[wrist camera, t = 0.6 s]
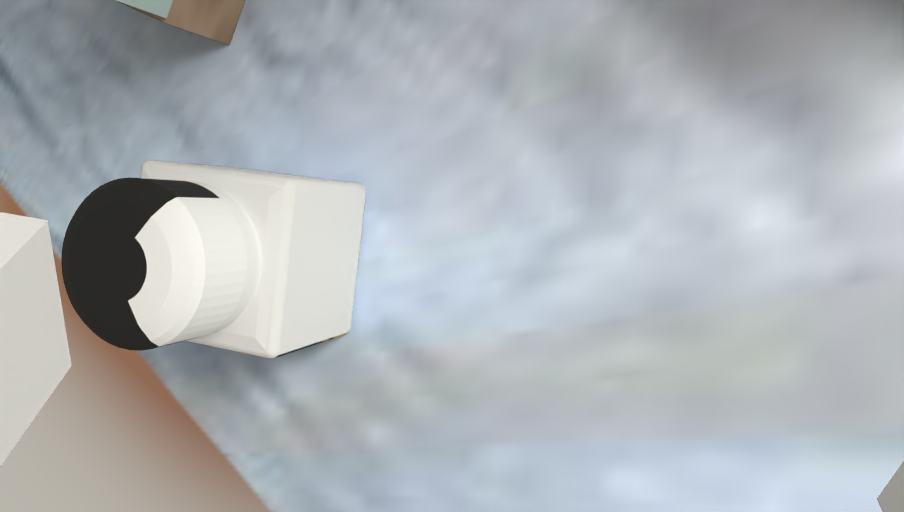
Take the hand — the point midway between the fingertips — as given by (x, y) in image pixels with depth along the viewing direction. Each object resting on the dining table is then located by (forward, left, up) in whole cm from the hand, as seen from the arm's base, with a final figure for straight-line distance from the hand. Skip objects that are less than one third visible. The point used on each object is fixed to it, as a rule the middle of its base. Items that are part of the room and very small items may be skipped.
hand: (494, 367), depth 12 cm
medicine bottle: (+6, -15, -23) cm, 28 cm away
